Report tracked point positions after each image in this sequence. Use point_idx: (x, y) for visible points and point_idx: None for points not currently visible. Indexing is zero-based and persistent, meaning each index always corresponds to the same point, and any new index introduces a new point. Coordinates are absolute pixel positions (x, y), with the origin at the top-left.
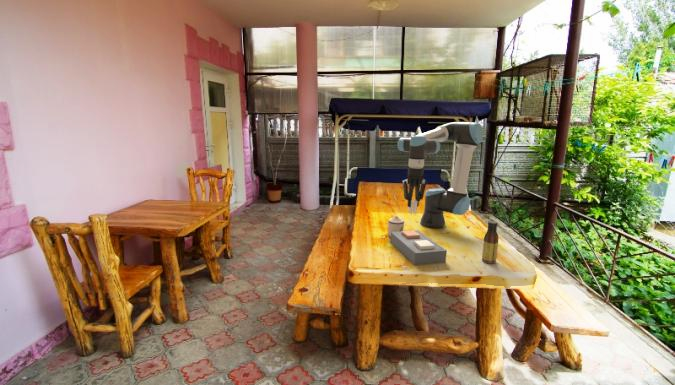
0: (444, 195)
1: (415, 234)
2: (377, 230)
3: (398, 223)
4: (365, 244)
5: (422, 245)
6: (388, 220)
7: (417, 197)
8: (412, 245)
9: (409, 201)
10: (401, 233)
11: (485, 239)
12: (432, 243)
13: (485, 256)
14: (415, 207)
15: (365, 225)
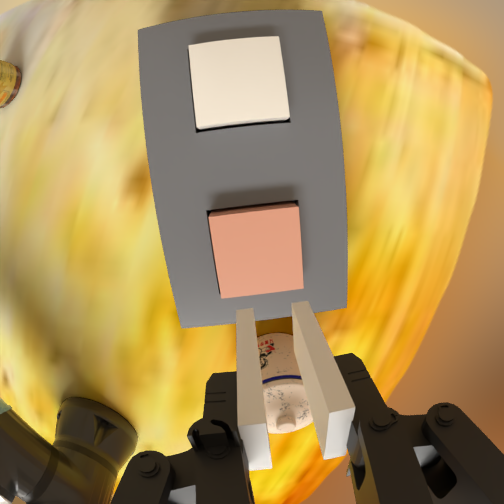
0: (24, 489)
1: (237, 226)
2: None
3: (285, 379)
4: (429, 265)
5: (263, 46)
6: None
7: (243, 485)
8: (303, 96)
9: (378, 408)
10: None
11: None
12: (168, 118)
13: (8, 68)
14: (257, 354)
15: None
